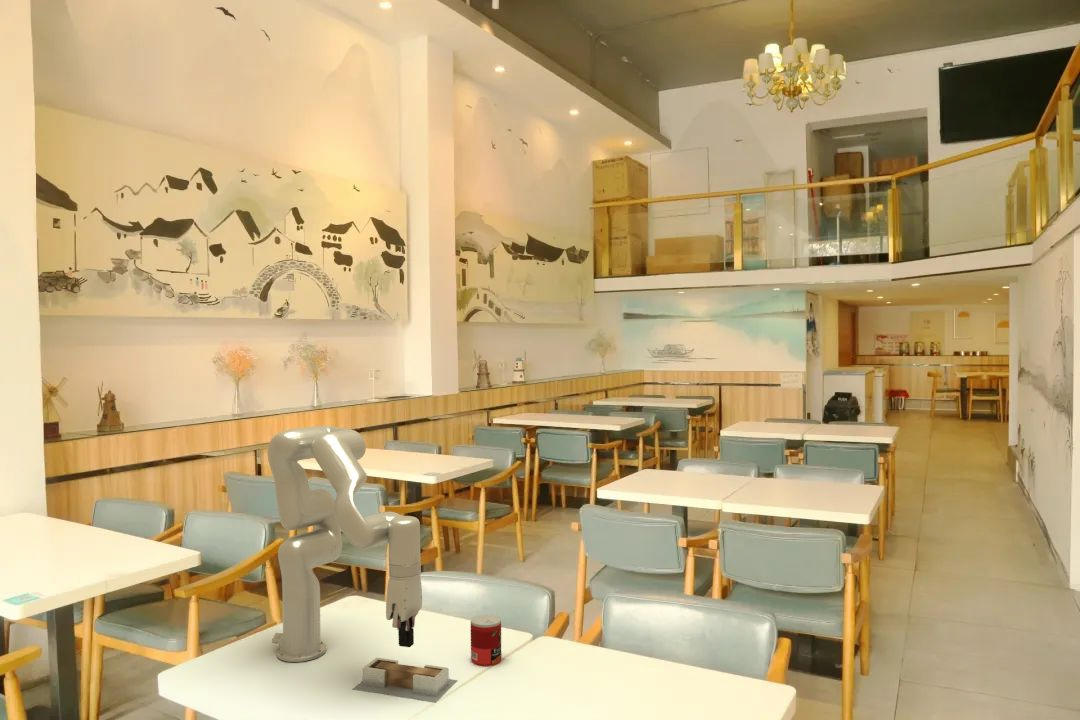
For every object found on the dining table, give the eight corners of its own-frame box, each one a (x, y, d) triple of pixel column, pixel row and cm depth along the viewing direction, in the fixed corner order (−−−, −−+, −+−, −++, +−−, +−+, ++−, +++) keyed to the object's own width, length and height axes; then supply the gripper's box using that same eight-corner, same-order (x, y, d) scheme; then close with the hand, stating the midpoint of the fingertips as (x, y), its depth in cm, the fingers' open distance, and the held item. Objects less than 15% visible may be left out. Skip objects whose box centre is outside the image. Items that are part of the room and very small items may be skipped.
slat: (374, 683, 179) (374, 666, 179) (381, 677, 182) (381, 661, 182) (434, 692, 174) (434, 675, 174) (440, 686, 177) (440, 670, 177)
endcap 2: (448, 684, 178) (448, 667, 178) (436, 696, 172) (436, 679, 172) (426, 681, 180) (426, 664, 180) (413, 693, 174) (412, 676, 174)
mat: (351, 690, 176) (351, 689, 176) (378, 669, 187) (378, 668, 187) (435, 704, 169) (435, 702, 169) (457, 681, 180) (457, 680, 180)
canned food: (497, 669, 187) (497, 625, 187) (467, 666, 189) (466, 623, 189) (504, 656, 195) (504, 615, 195) (475, 654, 197) (475, 613, 196)
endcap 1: (362, 684, 178) (362, 668, 178) (376, 673, 184) (376, 657, 184) (384, 688, 176) (384, 671, 176) (398, 676, 182) (398, 660, 182)
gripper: (406, 559, 186) (407, 632, 186) (374, 576, 172) (376, 655, 172) (433, 561, 184) (434, 635, 184) (403, 579, 169) (404, 659, 169)
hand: (406, 645), depth 178 cm, fingers closed
